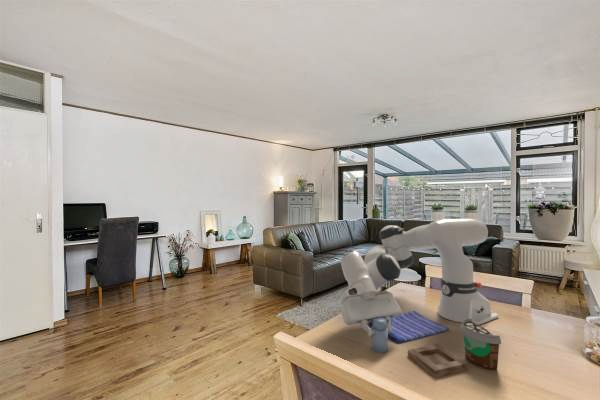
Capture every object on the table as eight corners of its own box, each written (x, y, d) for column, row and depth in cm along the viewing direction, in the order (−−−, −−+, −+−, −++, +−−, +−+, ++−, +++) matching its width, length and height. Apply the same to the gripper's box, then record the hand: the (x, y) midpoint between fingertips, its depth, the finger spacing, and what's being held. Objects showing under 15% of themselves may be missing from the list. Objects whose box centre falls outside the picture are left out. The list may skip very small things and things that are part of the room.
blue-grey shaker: (381, 343, 94) (381, 316, 94) (391, 351, 90) (391, 322, 90) (368, 346, 93) (368, 318, 93) (377, 353, 88) (377, 324, 88)
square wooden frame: (437, 349, 90) (437, 344, 90) (467, 369, 80) (467, 363, 80) (407, 356, 87) (407, 350, 87) (435, 377, 76) (435, 370, 76)
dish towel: (365, 325, 109) (365, 317, 109) (413, 314, 119) (413, 307, 119) (397, 346, 94) (397, 337, 94) (449, 332, 103) (449, 324, 103)
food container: (451, 350, 90) (451, 318, 89) (470, 349, 90) (470, 317, 90) (479, 374, 77) (479, 337, 77) (501, 373, 78) (501, 336, 78)
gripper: (386, 294, 105) (404, 332, 96) (335, 300, 99) (348, 342, 90) (393, 285, 101) (413, 325, 92) (340, 291, 95) (355, 334, 85)
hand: (380, 333), depth 91 cm, fingers closed on blue-grey shaker, 5 cm apart
